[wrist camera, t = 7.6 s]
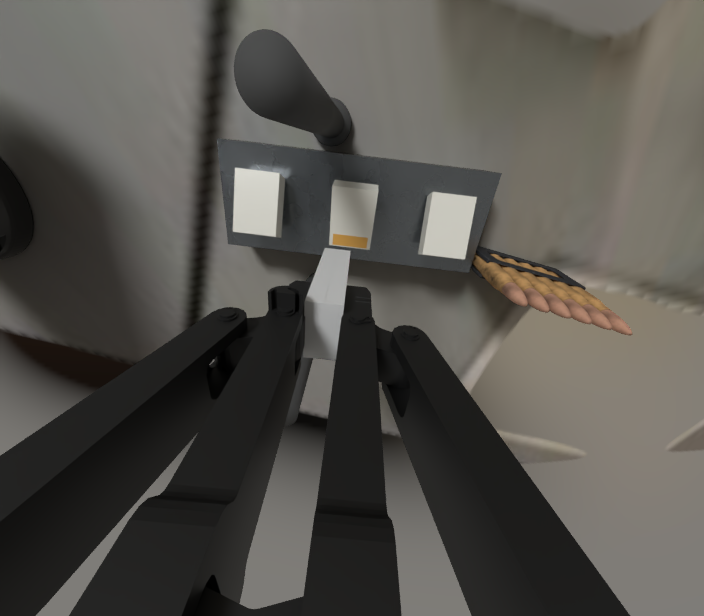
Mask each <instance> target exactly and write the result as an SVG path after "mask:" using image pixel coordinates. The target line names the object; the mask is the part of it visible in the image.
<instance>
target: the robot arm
mask: <svg viewBox="0 0 704 616" xmlns="http://www.w3.org/2000/svg"><path fill="white" fill-rule="evenodd" d="M32 233H33V219H32V214H31V210H30V207H29V204H28V201H27V199H26V197H25V195H24V193H23V191H22V189H21V187H20V185H19V184H18V182H17V180H16V179H15V177H14V176H13V175H12V173H11V172H10V170H9V169H8V168H7V167H6V165H5V164H4V163H3V162H2V161H1V160H0V260H1V259H4V258H7V257H11V256H14V255H17V254H19V253H20V252H22V251H23V250H24V249H25V248H26V247H27V246H28V244H29V242H30V240H31V237H32ZM350 252H351V251H348V250H339V249H331V248H325V249H324V252H323V254H322V257H321V260H320V262H319V265H318V267H317V270H316V273H315V275H314V278H313V281H312V282H305V281H295V282H293V283H291V284H290V285H289V286H277V287H274V288H271V289H270V290H269V291H268V305H269V311H268V312H267V314H266V316H263V317H257V318H247V316H246V313H245V311H244V310H241V309H239V308H233V307H229V308H228V307H226V308H222V309H218V310H216V311H214V312H212V313H210V314H209V315H207V316H206V317H204V318H203V319H202V320H200V321H199V322H197V323H196V324H194V325H193V326H191V327H190V328H188V329H187V330H185V331H184V332H182V333H181V334H179V335H178V336H176V337H175V338H173V339H172V340H171V341H169V342H168V343H166V344H165V345H163V346H162V347H160V348H159V349H157V350H156V351H154V352H153V353H151V354H150V355H148V356H147V357H145V358H144V359H142V360H141V361H139V362H138V363H137V364H135V365H134V366H132V367H131V368H129V369H128V370H126V371H125V372H123V373H122V374H120V375H119V376H117V377H116V378H114V379H113V380H111V381H110V382H109V383H107V384H106V385H104V386H103V387H101V388H100V389H98V390H97V391H95V392H94V393H92V394H91V395H89V396H88V397H86V398H85V399H83V400H82V401H80V402H79V403H78V404H76V405H75V406H73V407H72V408H70V409H69V410H67V411H66V412H64V413H63V414H61V415H60V416H58V417H57V418H55V419H54V420H53V421H51V422H50V423H48V424H46V425H45V426H44V427H42V428H41V429H39V430H38V431H36V432H35V433H33V434H32V435H30V436H29V437H27V438H26V439H24V440H23V441H21V442H20V443H18V444H17V445H16V446H14V447H13V448H11V449H10V450H8V451H7V452H5V453H4V454H2V455H1V456H0V616H36V614H37V613H38V612H39V611H40V610H41V609H42V608H43V607H44V606H45V605H46V604H47V603H48V602H49V600H50V599H51V598H52V597H53V596H54V595H55V594H56V593H57V591H58V590H59V589H60V588H61V587H62V586H63V585H64V583H65V582H66V581H67V580H68V579H69V578H70V577H71V576H72V574H73V573H74V572H75V571H76V570H77V569H78V568H79V566H80V565H81V564H82V563H83V562H84V561H85V560H86V559H87V557H88V556H89V555H90V554H91V553H92V552H93V551H94V549H95V548H96V547H97V546H98V545H99V544H100V542H101V541H102V540H103V539H104V538H105V537H106V536H107V535H108V534H109V532H110V531H111V530H112V529H113V528H114V527H115V526H116V525H117V523H118V522H119V521H120V520H121V519H122V518H123V516H124V515H125V514H126V513H127V512H128V511H129V510H130V509H131V508H132V506H133V505H134V504H135V503H136V502H137V501H138V500H139V498H140V497H141V496H142V495H143V494H144V493H145V492H146V491H147V489H148V488H149V487H150V486H151V485H152V484H153V483H154V482H155V480H156V479H157V478H158V477H159V476H160V475H161V473H162V472H163V471H164V470H165V469H166V468H167V467H168V466H169V464H170V463H171V462H172V461H173V460H174V459H175V458H176V457H177V455H178V454H179V453H180V452H181V451H182V450H183V449H184V448H185V446H186V445H187V444H188V443H189V442H190V441H191V440H192V439H193V437H194V436H195V435H196V434H197V433H198V434H197V436H196V438H195V439H194V441H193V443H192V445H191V446H190V448H189V450H188V452H187V453H186V455H185V457H184V458H183V460H182V462H181V464H180V466H179V467H178V469H177V471H176V473H175V474H174V476H173V478H172V479H171V481H170V483H169V484H168V486H167V487H166V489H165V490H164V491H163V492H162V493H161V494H160V495H158V496H154V497H151V498H148V499H147V500H146V501H145V502H143V503H142V504H141V505H140V506H139V507H138V509H137V510H136V511H135V513H134V514H133V515H132V517H131V518H130V519H129V521H128V522H127V524H126V526H125V527H124V529H123V530H122V532H121V534H120V535H119V537H118V539H117V540H116V542H115V543H114V545H113V547H112V548H111V550H110V551H109V553H108V554H107V556H106V558H105V559H104V561H103V563H102V564H101V566H100V567H99V569H98V570H97V572H96V574H95V575H94V577H93V578H92V580H91V582H90V583H89V585H88V586H87V588H86V590H85V591H84V593H83V594H82V596H81V598H80V599H79V601H78V602H77V604H76V606H75V607H74V609H73V610H72V612H71V614H70V615H69V616H401V605H400V592H399V580H398V568H397V555H396V544H395V535H394V528H393V524H392V520H391V519H390V518H389V517H388V514H387V507H386V494H385V479H384V463H383V446H382V430H381V414H380V398H379V382H382V389H383V391H384V394H385V396H386V399H387V401H388V404H389V406H390V409H391V411H392V414H393V417H394V419H395V422H396V424H397V427H398V429H399V432H400V434H401V437H402V439H403V442H404V444H405V447H406V450H407V452H408V454H409V457H410V460H411V462H412V465H413V467H414V470H415V473H416V475H417V478H418V480H419V483H420V485H421V488H422V490H423V493H424V495H425V498H426V501H427V503H428V506H429V508H430V510H431V513H432V516H433V518H434V521H435V523H436V526H437V529H438V531H439V534H440V536H441V539H442V541H443V544H444V546H445V549H446V551H447V554H448V557H449V559H450V562H451V564H452V567H453V569H454V572H455V574H456V577H457V579H458V582H459V585H460V587H461V590H462V592H463V595H464V597H465V600H466V602H467V605H468V608H469V610H470V612H471V615H472V616H630V615H629V614H628V612H627V611H626V610H625V608H624V607H623V605H622V604H621V602H620V601H619V600H618V599H617V597H616V596H615V594H614V593H613V592H612V590H611V589H610V587H609V586H608V585H607V583H606V582H605V580H604V579H603V578H602V576H601V575H600V574H599V572H598V571H597V569H596V568H595V567H594V565H593V564H592V562H591V561H590V560H589V558H588V557H587V556H586V554H585V553H584V552H583V550H582V549H581V547H580V546H579V545H578V543H577V542H576V541H575V539H574V538H573V536H572V535H571V533H570V532H569V531H568V529H567V528H566V527H565V525H564V524H563V522H562V521H561V520H560V518H559V517H558V516H557V514H556V513H555V511H554V510H553V509H552V507H551V506H550V504H549V503H548V502H547V500H546V499H545V498H544V496H543V495H542V494H541V492H540V491H539V489H538V488H537V487H536V485H535V484H534V483H533V481H532V480H531V478H530V477H529V476H528V474H527V473H526V471H525V470H524V469H523V467H522V466H521V464H520V463H519V462H518V460H517V459H516V458H515V456H514V455H513V453H512V452H511V451H510V449H509V448H508V447H507V445H506V444H505V442H504V441H503V440H502V438H501V437H500V435H499V434H498V433H497V431H496V430H495V429H494V427H493V426H492V424H491V423H490V422H489V420H488V419H487V418H486V416H485V415H484V413H483V412H482V411H481V409H480V408H479V406H478V405H477V404H476V402H475V401H474V400H473V398H472V397H471V395H470V394H469V393H468V391H467V390H466V389H465V387H464V386H463V384H462V383H461V382H460V380H459V379H458V378H457V376H456V375H455V373H454V372H453V371H452V369H451V368H450V366H449V365H448V364H447V362H446V361H445V360H444V358H443V357H442V355H441V354H440V353H439V351H438V350H437V349H436V347H435V346H434V344H433V343H432V342H431V340H430V339H429V337H428V336H427V335H426V334H425V333H424V332H423V331H422V330H420V329H418V328H416V327H413V326H406V325H403V326H398V327H396V328H394V330H393V332H389V331H386V330H384V329H381V328H379V327H378V326H377V325H375V321H374V319H373V317H372V309H371V293H370V291H369V290H368V289H367V288H365V287H356V286H347V279H348V270H349V261H350ZM302 352H303V357H306V358H316V359H325V360H335V361H336V363H335V370H334V378H333V385H332V393H331V400H330V408H329V415H328V423H327V431H326V438H325V446H324V454H323V461H322V468H321V476H320V484H319V491H318V499H317V506H316V511H315V517H314V523H313V531H312V538H311V545H310V553H309V560H308V568H307V575H306V582H305V590H304V597H300V598H296V599H293V600H289V601H285V602H282V603H278V604H274V605H271V606H267V607H263V608H260V609H249V608H246V607H244V606H243V605H240V604H239V603H240V598H241V594H242V589H243V584H244V576H245V569H246V562H247V558H248V554H249V550H250V547H251V543H252V539H253V536H254V532H255V529H256V525H257V522H258V518H259V514H260V511H261V507H262V504H263V500H264V497H265V493H266V489H267V486H268V482H269V479H270V475H271V471H272V468H273V464H274V461H275V457H276V454H277V450H278V446H279V443H280V439H281V436H282V432H283V429H284V425H285V421H286V418H287V414H288V411H289V407H290V404H291V400H292V396H293V393H294V389H295V386H296V382H297V379H298V375H299V371H300V368H301V356H302ZM213 359H215V361H214V362H213V363H212V364H211V365H209V364H210V363H211V362H212V360H213ZM378 381H379V382H378Z"/></svg>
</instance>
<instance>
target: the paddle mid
mask: <svg viewBox="0 0 704 616" xmlns="http://www.w3.org/2000/svg"><path fill="white" fill-rule="evenodd" d="M377 197H378V185H375V184H366V183H358V182H350V181H342V180H334V183H333V185H332V198H331V218H330V237H329V245H333V246H341V247H349V248H358V249H366V250H370V244H371V237H372V231H373V224H374V217H375V211H376V204H377Z"/></svg>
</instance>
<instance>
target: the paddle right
mask: <svg viewBox="0 0 704 616" xmlns="http://www.w3.org/2000/svg"><path fill="white" fill-rule="evenodd" d="M476 199H477V197H472V196H464V195H456V194H447V193H439V192H432V193H430V194H429V195H428V196H427V201H426V207H425V213H424V219H423V226H422V232H421V238H420V244H419V251H418V254H420V255H428V256H437V257H445V258H453V259H465V256H466V251H467V246H468V241H469V236H470V231H471V225H472V220H473V215H474V210H475V205H476Z"/></svg>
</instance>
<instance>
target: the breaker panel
mask: <svg viewBox="0 0 704 616" xmlns="http://www.w3.org/2000/svg"><path fill="white" fill-rule="evenodd" d="M217 145H218V154H219V163H220V172H221V181H222V191H223V200H224V209H225V218H226V227H227V236H228V244H232V245H241V246H249V247H257V248H266V249H274V250H282V251H291V252H299V253H307V254H316V255H322V254H323V252H324V249H325V248H331V249H339V250H348V251H351V252H350V259H358V260H366V261H374V262H383V263H391V264H399V265H408V266H416V267H424V268H433V269H441V270H449V271H458V272H466V273H469V270H470V267H471V264H472V261H473V258H474V255H475V252H476V249H477V246H478V243H479V240H480V237H481V234H482V231H483V228H484V225H485V222H486V219H487V216H488V213H489V210H490V207H491V204H492V201H493V198H494V195H495V192H496V189H497V186H498V183H499V180H500V177H501V174H502V173H496V172H490V171H484V170H476V169H468V168H460V167H451V166H443V165H435V164H427V163H419V162H411V161H403V160H394V159H386V158H378V157H370V156H362V155H354V154H346V153H337V152H329V151H321V150H313V149H305V148H297V147H289V146H280V145H272V144H264V143H256V142H248V141H240V140H229V139H217ZM235 168H243V169H251V170H259V171H267V172H275V173H280V174H281V175H282V176H283V177H284V178H285V189H284V204H283V219H282V234H281V238H279V237H270V236H262V235H254V234H245V233H238V232H233V209H234V180H235ZM334 180H342V181H350V182H358V183H366V184H375V185H378V197H377V204H376V211H375V217H374V224H373V231H372V237H371V244H370V250H366V249H358V248H349V247H341V246H333V245H329V237H330V218H331V198H332V185H333V183H334ZM432 192H439V193H447V194H456V195H464V196H472V197H477V199H476V205H475V210H474V215H473V220H472V225H471V231H470V236H469V241H468V246H467V251H466V256H465V259H453V258H445V257H437V256H428V255H420V254H418V251H419V244H420V238H421V232H422V226H423V219H424V213H425V207H426V201H427V196H428V195H429V194H430V193H432Z"/></svg>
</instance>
